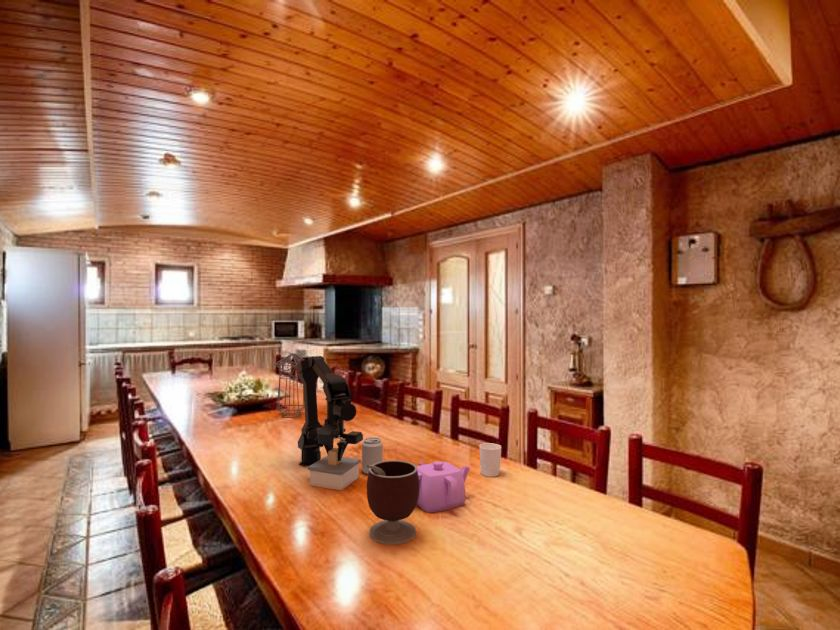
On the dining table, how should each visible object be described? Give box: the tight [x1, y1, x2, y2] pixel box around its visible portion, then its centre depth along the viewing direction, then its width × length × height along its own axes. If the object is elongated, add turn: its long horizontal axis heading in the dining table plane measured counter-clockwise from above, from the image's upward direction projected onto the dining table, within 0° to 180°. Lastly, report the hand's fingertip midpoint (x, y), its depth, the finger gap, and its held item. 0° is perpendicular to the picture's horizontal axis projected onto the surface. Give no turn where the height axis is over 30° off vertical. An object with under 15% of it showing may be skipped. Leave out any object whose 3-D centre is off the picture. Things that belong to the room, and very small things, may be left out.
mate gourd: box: [366, 459, 419, 546], centre depth 118 cm, size 16×14×20 cm
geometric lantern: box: [274, 353, 305, 419], centre depth 250 cm, size 16×16×35 cm
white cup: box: [478, 442, 502, 478], centre depth 163 cm, size 8×8×10 cm
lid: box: [307, 447, 362, 475], centre depth 154 cm, size 13×13×6 cm
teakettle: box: [416, 460, 471, 513], centre depth 138 cm, size 17×17×12 cm
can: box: [361, 436, 384, 475], centre depth 164 cm, size 8×8×12 cm
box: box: [309, 463, 360, 491], centre depth 154 cm, size 12×12×5 cm
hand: (335, 460), depth 154 cm, fingers closed on lid, 3 cm apart
